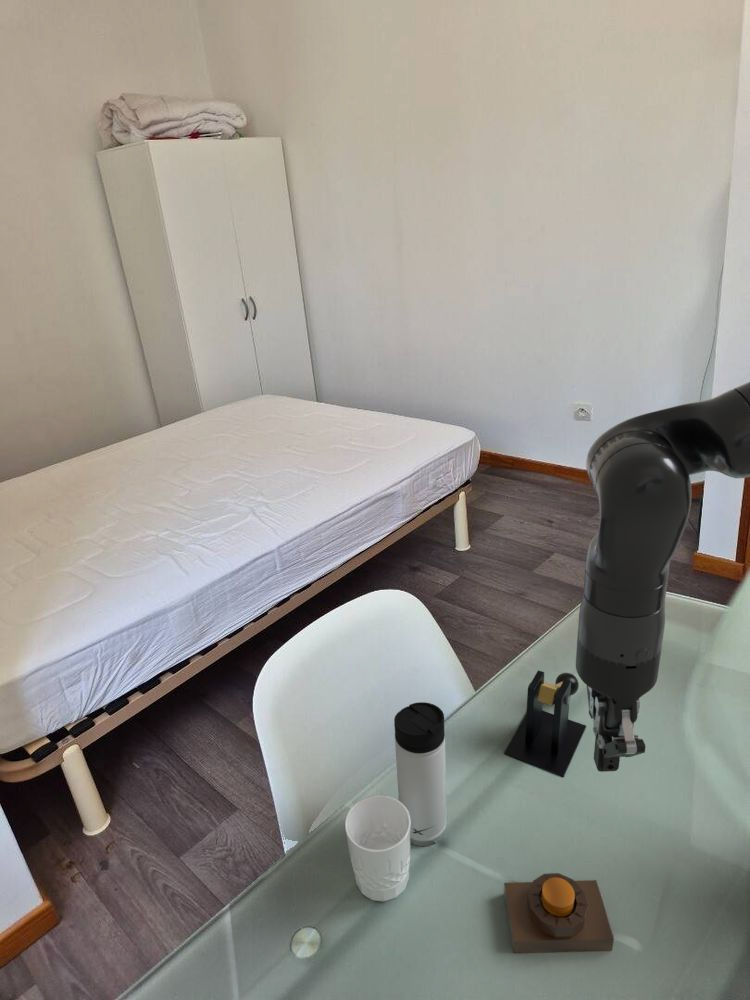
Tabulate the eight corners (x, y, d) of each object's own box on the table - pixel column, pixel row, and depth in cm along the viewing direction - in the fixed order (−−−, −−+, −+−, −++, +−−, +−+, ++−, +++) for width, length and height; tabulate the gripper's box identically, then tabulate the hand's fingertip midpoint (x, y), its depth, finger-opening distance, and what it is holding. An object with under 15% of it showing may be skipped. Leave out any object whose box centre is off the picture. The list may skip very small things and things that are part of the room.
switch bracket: (529, 711, 111) (532, 653, 105) (585, 731, 106) (591, 671, 101) (503, 758, 102) (505, 697, 97) (563, 781, 98) (568, 719, 93)
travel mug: (424, 858, 88) (419, 743, 80) (390, 825, 93) (382, 713, 84) (458, 829, 92) (457, 716, 83) (424, 799, 97) (420, 689, 88)
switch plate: (594, 891, 83) (597, 869, 81) (612, 951, 77) (615, 929, 75) (503, 894, 84) (504, 872, 82) (513, 953, 77) (514, 931, 75)
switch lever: (556, 690, 112) (561, 668, 112) (578, 697, 110) (583, 675, 110) (531, 703, 100) (536, 679, 100) (556, 711, 98) (561, 686, 98)
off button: (569, 886, 80) (570, 876, 79) (577, 916, 77) (578, 906, 76) (538, 887, 80) (539, 877, 80) (545, 917, 77) (545, 907, 76)
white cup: (360, 915, 82) (354, 860, 78) (344, 858, 89) (338, 804, 85) (422, 895, 84) (419, 839, 80) (402, 841, 91) (398, 787, 86)
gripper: (563, 595, 71) (556, 721, 78) (598, 685, 59) (585, 822, 67) (637, 592, 70) (622, 718, 78) (687, 681, 58) (664, 819, 66)
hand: (605, 766), depth 72 cm, fingers closed
